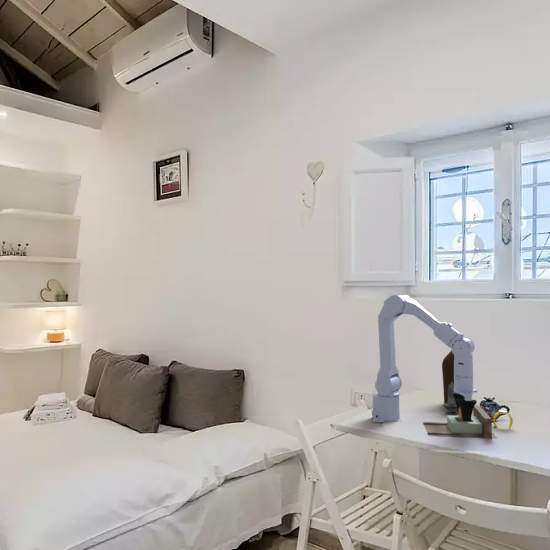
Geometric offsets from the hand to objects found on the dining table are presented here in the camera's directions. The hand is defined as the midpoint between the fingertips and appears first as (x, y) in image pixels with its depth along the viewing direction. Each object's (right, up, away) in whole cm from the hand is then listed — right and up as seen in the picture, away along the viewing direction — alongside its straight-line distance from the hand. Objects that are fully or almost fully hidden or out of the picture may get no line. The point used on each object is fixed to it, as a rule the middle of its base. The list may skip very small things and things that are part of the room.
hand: (464, 418), depth 166 cm
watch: (+14, -5, +3) cm, 15 cm away
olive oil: (+10, -5, +34) cm, 36 cm away
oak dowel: (0, -3, 0) cm, 3 cm away
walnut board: (-2, -4, 0) cm, 5 cm away
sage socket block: (0, -4, 0) cm, 4 cm away
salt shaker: (+3, -5, +21) cm, 21 cm away
